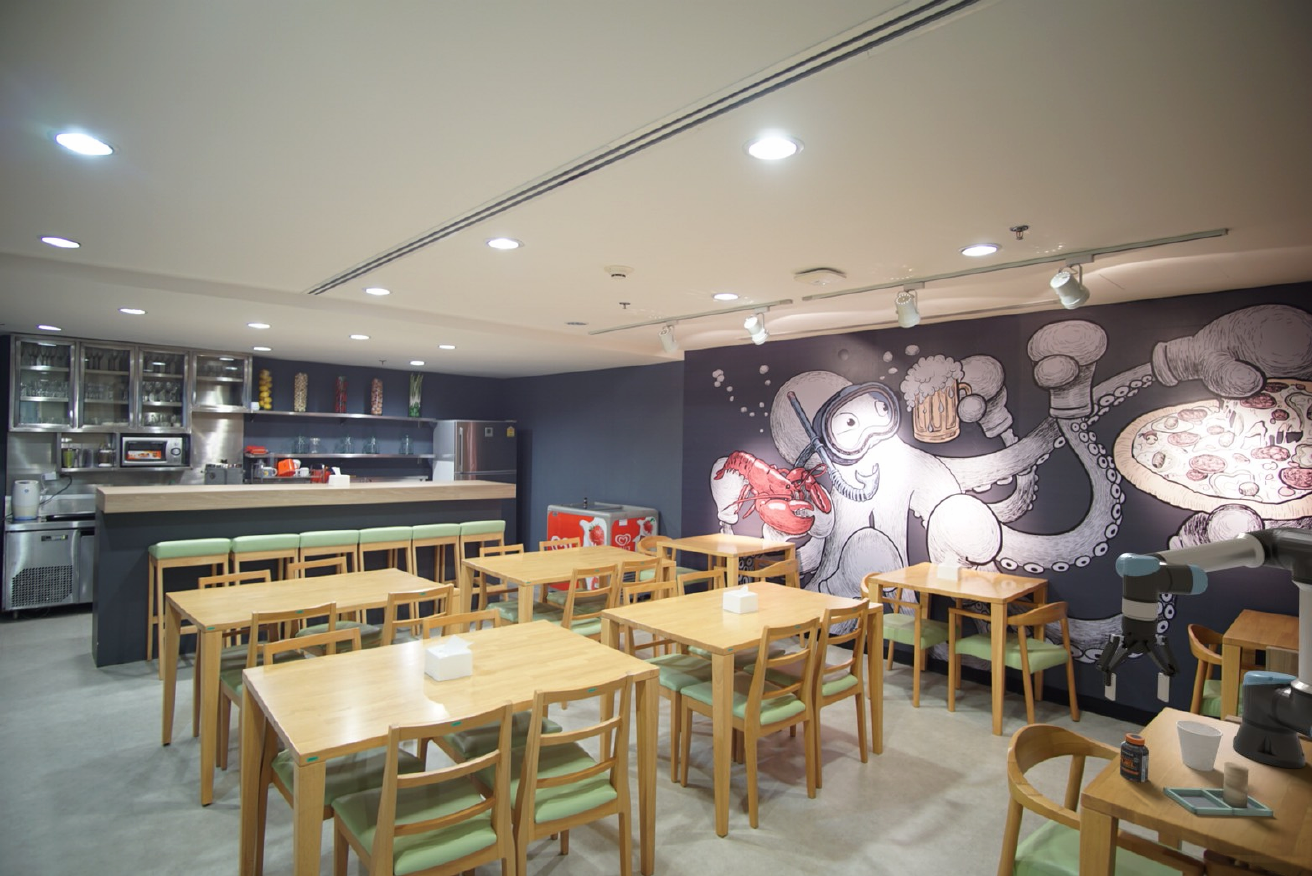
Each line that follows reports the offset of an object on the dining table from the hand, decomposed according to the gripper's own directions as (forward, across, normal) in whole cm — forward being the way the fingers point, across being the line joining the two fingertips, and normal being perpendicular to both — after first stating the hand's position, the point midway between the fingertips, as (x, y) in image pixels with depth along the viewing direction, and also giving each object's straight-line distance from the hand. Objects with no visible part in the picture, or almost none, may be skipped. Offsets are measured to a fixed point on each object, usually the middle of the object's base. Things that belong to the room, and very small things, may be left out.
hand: (1136, 699), depth 176 cm
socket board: (+21, -11, +12) cm, 27 cm away
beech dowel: (+20, -15, +12) cm, 28 cm away
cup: (+21, -22, -7) cm, 31 cm away
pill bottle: (+21, 0, 0) cm, 21 cm away
